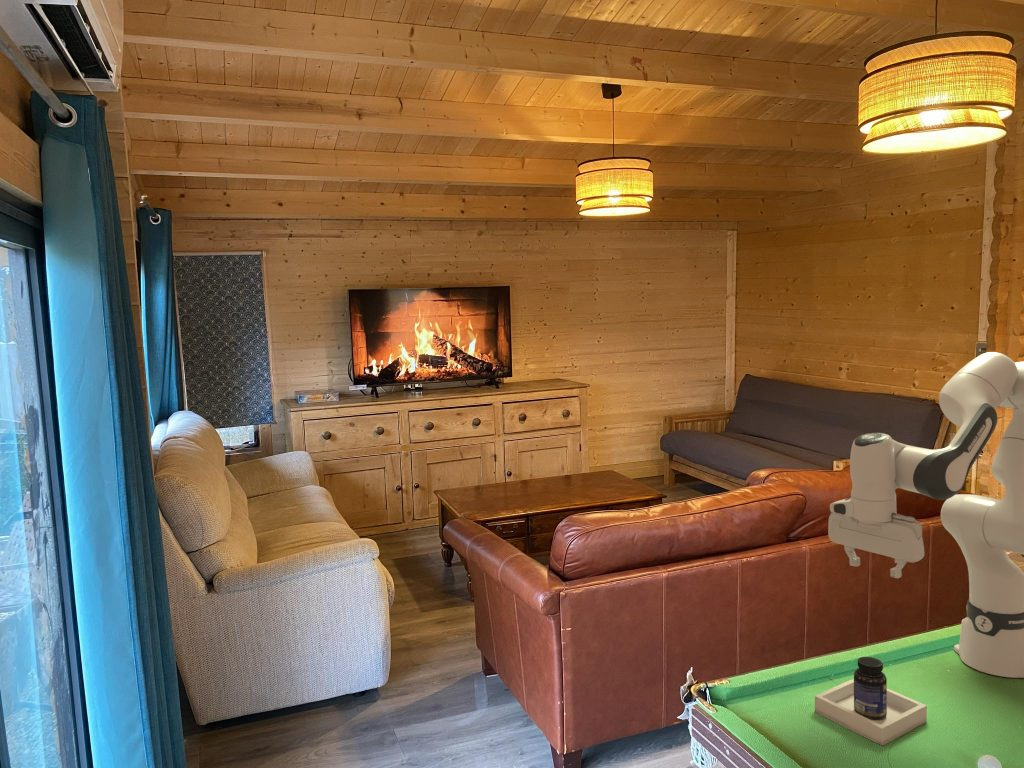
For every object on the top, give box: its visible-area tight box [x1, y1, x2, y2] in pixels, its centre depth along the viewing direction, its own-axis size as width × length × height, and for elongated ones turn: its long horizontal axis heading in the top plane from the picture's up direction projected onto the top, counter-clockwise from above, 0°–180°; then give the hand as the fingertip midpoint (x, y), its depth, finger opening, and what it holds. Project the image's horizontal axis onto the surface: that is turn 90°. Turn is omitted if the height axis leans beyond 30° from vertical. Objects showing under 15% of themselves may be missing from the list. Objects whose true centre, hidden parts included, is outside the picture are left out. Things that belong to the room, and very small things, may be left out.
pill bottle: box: [853, 656, 888, 720], centre depth 151 cm, size 6×6×11 cm
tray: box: [814, 678, 928, 746], centre depth 151 cm, size 15×15×4 cm
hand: (874, 571), depth 160 cm, fingers open, 8 cm apart
